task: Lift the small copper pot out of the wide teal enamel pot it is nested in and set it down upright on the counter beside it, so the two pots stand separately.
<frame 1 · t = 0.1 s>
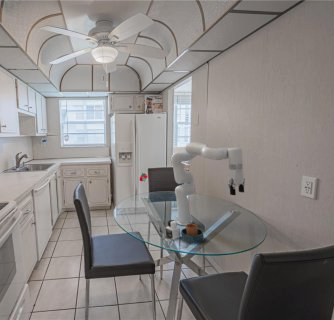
hand: (237, 193, 136), 31 cm above the table, tool pointing down, fingers open, 9 cm apart
small pot: (192, 238, 146), point 1 cm above the table, touching large pot
large pot: (192, 239, 146), on the table
medicine bottle: (173, 237, 152), on the table
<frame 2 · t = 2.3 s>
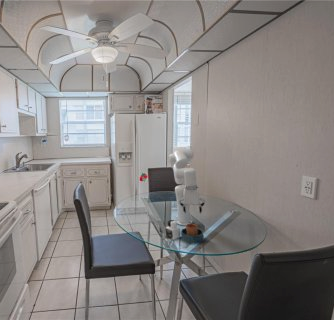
hand: (192, 212, 144), 19 cm above the table, tool pointing down, fingers open, 9 cm apart
nothing on the table moved.
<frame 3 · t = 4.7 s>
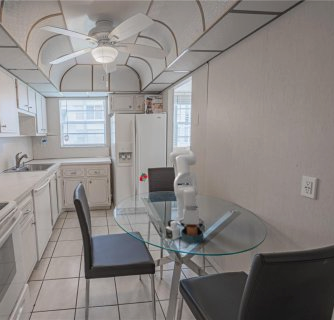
hand: (192, 232, 145), 5 cm above the table, tool pointing down, fingers closed on small pot, 7 cm apart
small pot: (192, 238, 146), point 1 cm above the table, touching gripper, large pot
everything else where it was.
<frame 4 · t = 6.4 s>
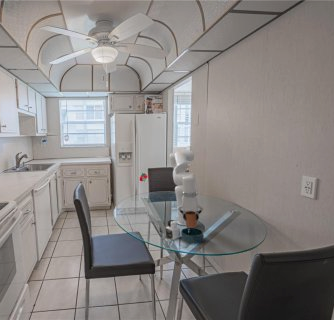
hand: (191, 219, 145), 14 cm above the table, tool pointing down, fingers closed on small pot, 7 cm apart
small pot: (191, 225, 146), point 9 cm above the table, touching gripper
everything else where it was.
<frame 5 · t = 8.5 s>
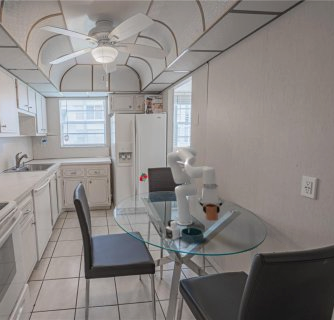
hand: (211, 212, 140), 19 cm above the table, tool pointing down, fingers closed on small pot, 7 cm apart
small pot: (211, 218, 140), point 15 cm above the table, touching gripper
everything else where it was.
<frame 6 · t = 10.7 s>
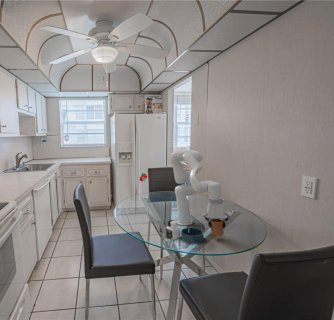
hand: (217, 227, 140), 9 cm above the table, tool pointing down, fingers closed on small pot, 7 cm apart
small pot: (217, 233, 140), point 5 cm above the table, touching gripper
everything else where it was.
when the fingers open (4 cm above the table, at t = 12.5 s): small pot stays where it is, on the table.
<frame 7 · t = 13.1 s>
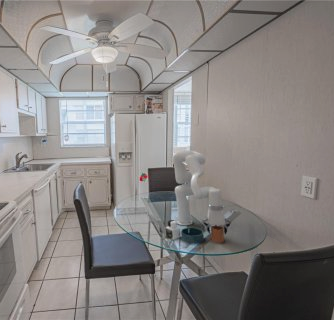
hand: (217, 232, 140), 5 cm above the table, tool pointing down, fingers open, 9 cm apart
small pot: (217, 240, 140), on the table
everything else where it was.
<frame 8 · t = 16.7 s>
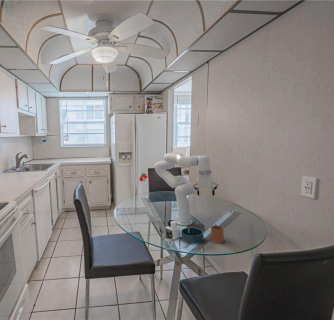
hand: (205, 195, 156), 26 cm above the table, tool pointing down, fingers open, 9 cm apart
nothing on the table moved.
at the end: small pot inside the target area (0.1 cm from its centre), on the table; small pot tilted 0°; the gripper is holding nothing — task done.
